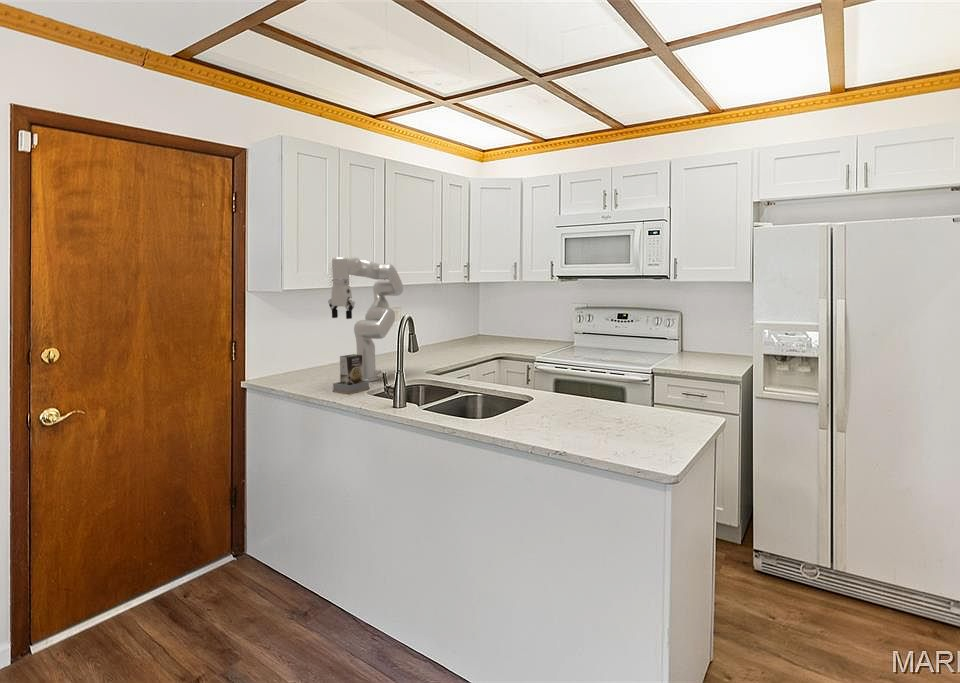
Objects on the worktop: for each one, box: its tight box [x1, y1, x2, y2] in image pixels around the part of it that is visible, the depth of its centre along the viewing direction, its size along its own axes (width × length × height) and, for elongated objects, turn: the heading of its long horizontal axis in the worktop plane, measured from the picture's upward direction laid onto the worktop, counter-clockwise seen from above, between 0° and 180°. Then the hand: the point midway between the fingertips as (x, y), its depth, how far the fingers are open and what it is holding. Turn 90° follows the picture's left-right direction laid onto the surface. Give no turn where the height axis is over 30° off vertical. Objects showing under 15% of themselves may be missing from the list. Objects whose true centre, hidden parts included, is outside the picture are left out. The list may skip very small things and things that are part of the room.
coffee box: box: [339, 353, 363, 385], centre depth 272 cm, size 9×6×16 cm
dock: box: [332, 380, 371, 395], centre depth 273 cm, size 14×11×4 cm
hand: (341, 318), depth 276 cm, fingers open, 9 cm apart
